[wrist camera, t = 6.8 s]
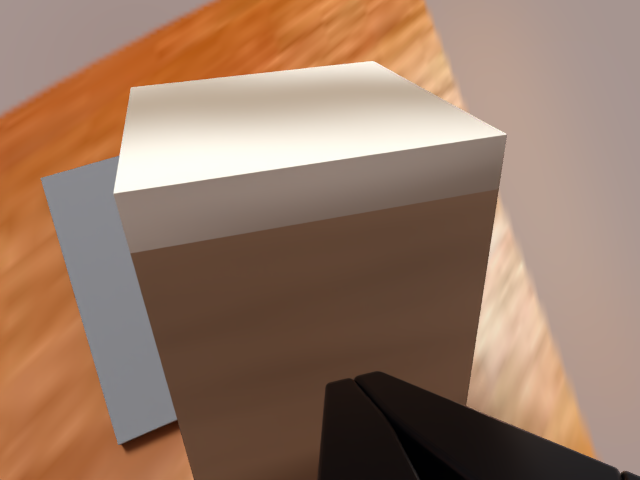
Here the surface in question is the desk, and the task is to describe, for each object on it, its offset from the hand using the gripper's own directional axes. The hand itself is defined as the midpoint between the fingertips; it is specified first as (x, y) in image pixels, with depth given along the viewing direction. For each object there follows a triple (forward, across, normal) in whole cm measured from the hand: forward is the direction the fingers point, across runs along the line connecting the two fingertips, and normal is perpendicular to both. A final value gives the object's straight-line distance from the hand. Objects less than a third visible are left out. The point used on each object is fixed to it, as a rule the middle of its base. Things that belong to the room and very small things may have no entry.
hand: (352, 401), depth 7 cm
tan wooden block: (+4, 0, -6) cm, 7 cm away
